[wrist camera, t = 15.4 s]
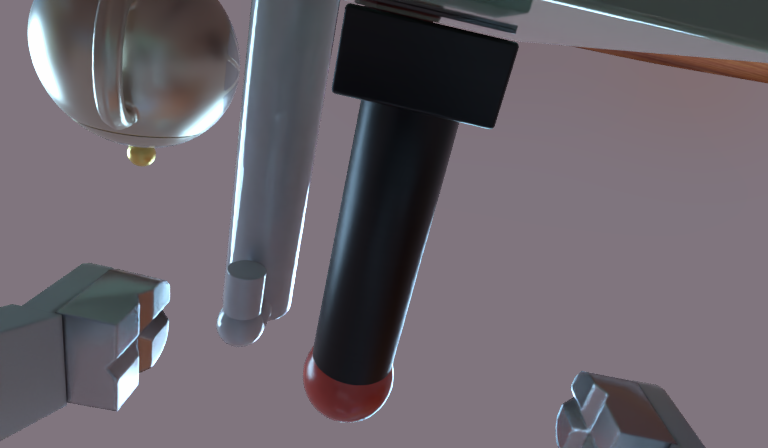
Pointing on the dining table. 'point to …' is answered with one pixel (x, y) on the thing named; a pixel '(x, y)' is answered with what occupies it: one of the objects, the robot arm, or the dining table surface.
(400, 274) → the tap lever
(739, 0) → the tap
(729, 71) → the dining table surface
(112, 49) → the teapot
